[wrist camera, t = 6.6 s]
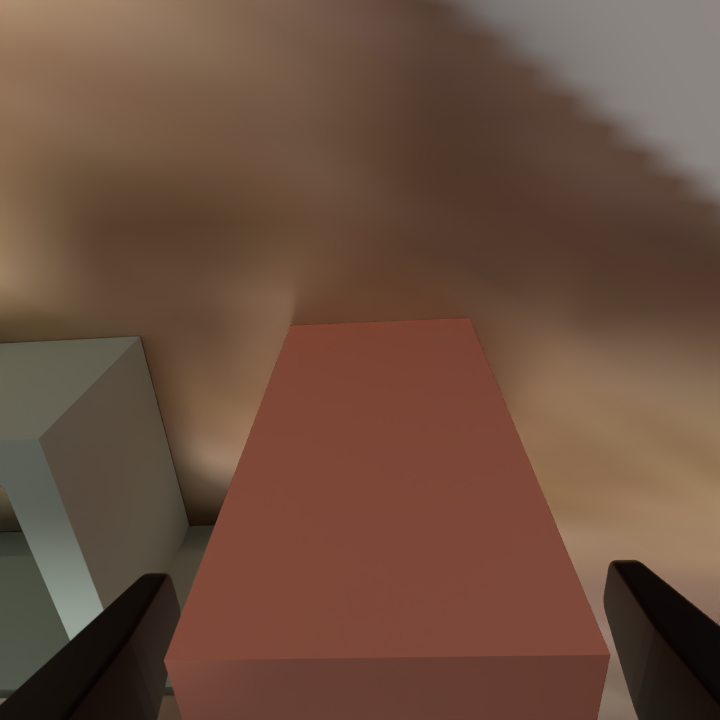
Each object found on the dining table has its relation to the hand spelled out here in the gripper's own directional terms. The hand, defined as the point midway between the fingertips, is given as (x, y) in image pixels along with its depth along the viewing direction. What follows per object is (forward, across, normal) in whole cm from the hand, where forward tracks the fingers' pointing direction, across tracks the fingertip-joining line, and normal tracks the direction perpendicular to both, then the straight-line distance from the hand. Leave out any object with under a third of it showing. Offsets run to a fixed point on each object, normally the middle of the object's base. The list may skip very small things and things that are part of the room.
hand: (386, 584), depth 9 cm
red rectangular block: (+6, 0, 0) cm, 6 cm away
